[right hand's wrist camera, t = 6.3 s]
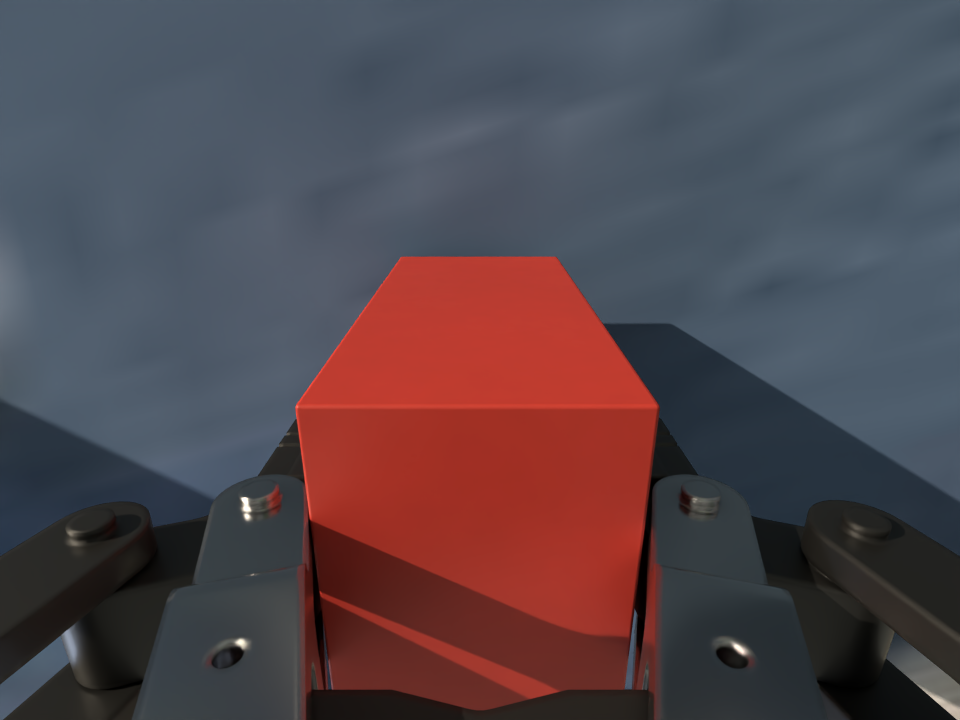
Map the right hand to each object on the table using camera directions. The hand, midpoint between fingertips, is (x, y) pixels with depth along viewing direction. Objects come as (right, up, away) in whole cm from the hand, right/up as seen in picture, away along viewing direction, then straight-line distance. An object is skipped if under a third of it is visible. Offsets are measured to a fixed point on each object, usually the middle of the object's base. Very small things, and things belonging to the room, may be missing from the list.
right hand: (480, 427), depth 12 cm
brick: (0, +2, +4) cm, 5 cm away
